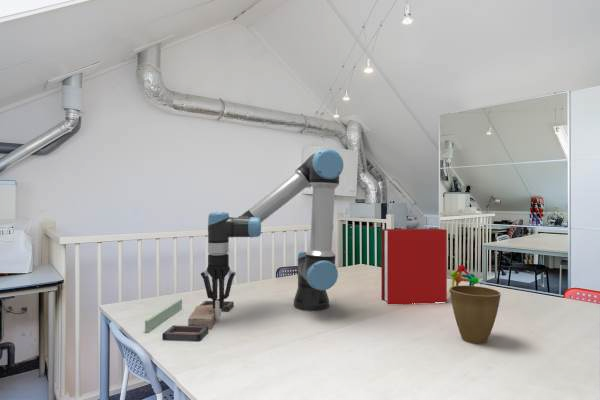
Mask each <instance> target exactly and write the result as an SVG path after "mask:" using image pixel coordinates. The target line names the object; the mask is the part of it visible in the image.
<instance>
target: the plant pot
mask: <svg viewBox="0 0 600 400" xmlns="http://www.w3.org/2000/svg"><path fill="white" fill-rule="evenodd" d="M449 288H450V287H449ZM449 293H450V299H451V305H452V306H451V307H452V310H453V315H454V319H455V321H456V322H455V323H456V325H457V329H458V332H459V334H460V336H461V339H462V340H463V341H465V342H468V343H471V344H479V343H480V344H485V343H487V342H488V340H489V338H490V335H491V333H492V330H493V328H494V325H495V321H496V318H497V314H498V310H499V307H500V301H501V296H502V295H501V292H500V291H499V290H496V289H493V288H490V287H484V286H477V285H474V286H469V285H466V284H465V285H458V286H456V285H454V286H453V287H452V286H451V288H450V292H449Z"/></svg>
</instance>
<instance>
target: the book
mask: <svg viewBox="0 0 600 400" xmlns="http://www.w3.org/2000/svg"><path fill="white" fill-rule="evenodd" d="M447 231H448V230H447V229H443V228H381V301H386V302H387V303H386V304H403V305H415V304H414V303H435V302H447V301H448V297H447V296H448V293H447V292H448V284H447V283H448V281H447V280H448V277H447V276H448V273H447V272H448V270H447V266H448V264H447V263H448V259H447V258H448V257H447V256H448V255H447V253H448V252H447V251H448V249H447V248H448V247H447V246H448V243H447V242H448V240H447V239H448V238H447V237H448V235H447V234H448V232H447ZM412 303H413V304H412ZM447 303H448V302H447Z"/></svg>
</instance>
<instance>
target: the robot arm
mask: <svg viewBox="0 0 600 400" xmlns="http://www.w3.org/2000/svg"><path fill="white" fill-rule="evenodd" d="M343 169H344V160H343V157H342V155H340V153H339V152H337V151H336V150H334V149H330V148H323V149H320V150H317V152H314V153H313V154H311V155H310V156H309V157H308V158H307V159H306V160H305V161H304V162H303V163H302V164H301V165H300V166H299V167H298V168H295V170H294V172H295V173H294V174H292V175H291V176H290V177H288V178H287V179H286V180H285V181H283V182H282V183H281V184H280V185H278V186H277V187H276V188H274V189H273V190H272V191H270V192H269V193H268V194H266V195H265V196H264V197H263V198H262V199H260V200H259V201H258V202H256V203H255V204H254V205H253V206H252V207H250V208H249V209H248V210H247V211H245V212H244V213H243V214H241V215H239V216H238V217H231V216H230V215H229V212H227V211H214V212H213V211H212V212H210V213H209V214H208V218H207V219H208V220H207V253H208V254H207V267H206V270H204V271H202V272H201V273H200V276H201V278H202V280H203V282H204V287H205V292H206V296H207V297H206V298H207V299H211V301H213V309H215V318H216V319H221V317H222V312H221V309H222V308H223V307H224V301H225V300H227V299H228V297H230V294H231V293H230V292H231V290H232V289H231V288H232V284H233V280H234V278H235V276H236V274H237V273H236V271H232V270H231V268H230V265H229V263H230V262H229V259H230V258H229V252H230V251H229V250H230V248H229V245H230V244H229V243H230V242H229V241H230V240H229V238H252V239H253V238H258V237H260V236H261V234H262V223H263V222H265V220H267V219H268V218H269V217H271V215H273V214H274V213H275V212H277V211H278V210H279V209H281V208H282V207H284V205H286V204H288V202H290V201H291V200H292V199H294V197H296V196H297V195H299V194H300V193H301V192H302V191H304V190H305V189H307V188H308V189H311V188H312V200H311V201H312V202H311V223H310V242H309V248H308V249H309V250H307V251H301V252H299V253H297V290H296V293H295V296H294V298H293V306H294V307H295V309H297V310H298V309H299V310H303V311H321V310H326V309H328V308H330V299H329V295H328V292H327V290H329V289H331V288H332V287H334V286H335V284H336V283H337V281H338V278H339V272H338V268H337V266H336V254H335V252H334V251H333V233H334V213H335V212H334V211H335V196H336V195H335V194H336V193H335V192H336V188H338V186H339V185H340V175H341V174H342V172H343ZM227 275H228V279H227V281H226V282H227V283H226V287H225V278H226V276H227ZM209 276H210V277H209ZM210 278H211V281H210ZM211 282H212V283H211ZM211 284H212V285H211Z"/></svg>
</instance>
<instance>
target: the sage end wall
mask: <svg viewBox="0 0 600 400" xmlns="http://www.w3.org/2000/svg"><path fill="white" fill-rule="evenodd" d="M182 309H183V299H182V298H179V299H177V300H176V301H174V302H172V303H171V304H170V305H168V306H166V307H164V308H163V309H161V310H160V311H158V312H157V313H155V314H153V315H151V316H150V317H148V318H147V319H145V321H144V332H145V333H150V332H152V330H154V329H155V328H157V327H159V326H161V324H163V323H164V322H166V321H167V320H168V319H170V318H171V317H173V316H174V315H175V314H178V312H179V311H181V310H182Z"/></svg>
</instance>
